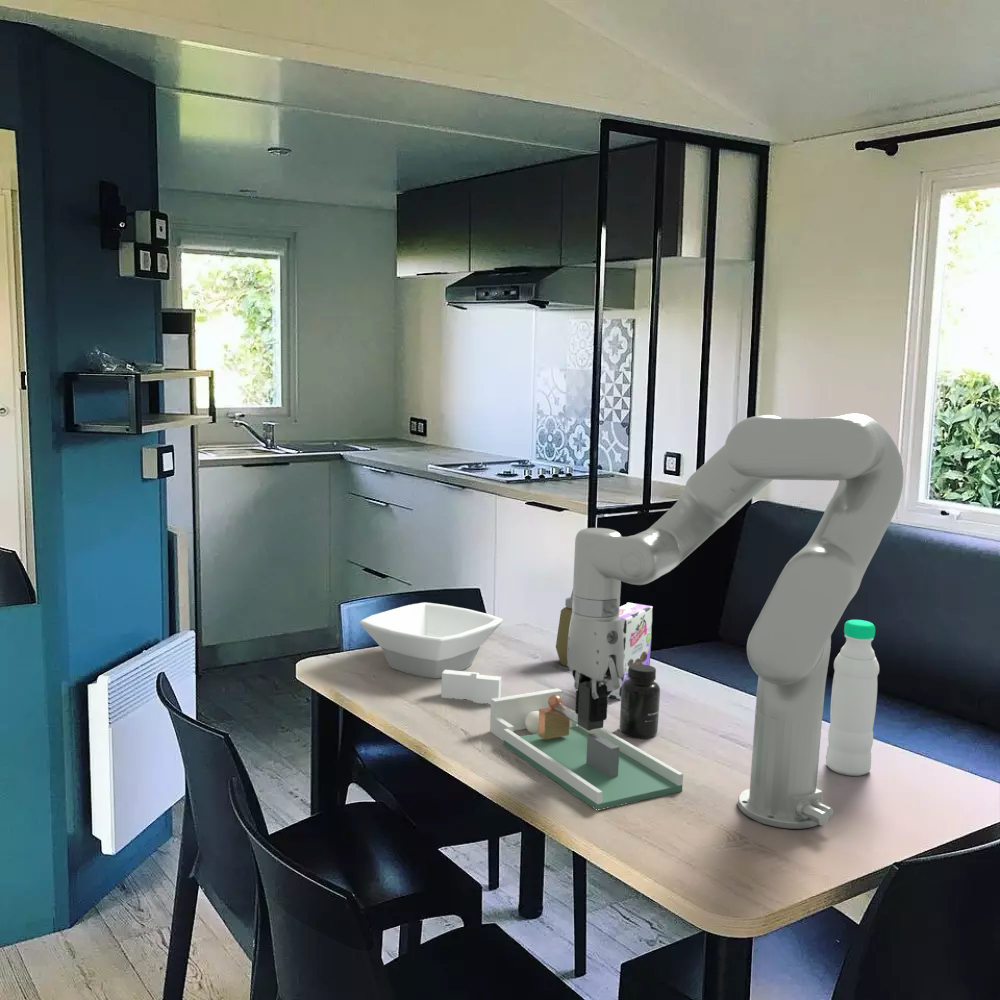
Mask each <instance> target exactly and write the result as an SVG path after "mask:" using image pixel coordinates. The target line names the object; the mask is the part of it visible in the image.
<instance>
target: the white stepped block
mask: <svg viewBox="0 0 1000 1000" xmlns="http://www.w3.org/2000/svg"><path fill="white" fill-rule="evenodd" d="M440 693H441V696H440V697H441V698H442V699H443V698H444V699H452V698H455V699H454V700H463V699H467V700H466V701H471V702H472V701H473V702H472V703H475V702H477V703H476V704H483V703H488V704H487V705H491V699H493V698H500V697H502V676H497V675H486V674H480V672H474V671H465V670H462V671H455V670H444V671H443V673H442V677H441V692H440Z"/></svg>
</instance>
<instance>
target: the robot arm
mask: <svg viewBox="0 0 1000 1000" xmlns="http://www.w3.org/2000/svg"><path fill="white" fill-rule="evenodd" d="M773 480H778V481H779V480H781V481H827V482H828V481H836V482H837V481H838V485H837V487H836V489H835V492H834V494H833V495H832V497H831V499H830V500H829V502H828V504H827V506H826V507H825V510H824V513H823V515H822V517H821V519H820V521H819V523H818V525H817V527H816V528H815V530H814V532H813V534H812V536H811V537H810V539H809V540H808V542H807V544H805V546H804V547H802V548H801V549H800V550H799V551H798V552H797V553H796V554H794V555H793V556H792V557H791V558H790V559H789V561H788V562H787V563H786V564H785V565H784V568H783V569H782V570H781V572H780V574H779V576H778V578H777V580H776V582H775V584H774V585H773V588H772V590H771V591H770V593H769V596H768V597H767V599H766V602H765V604H764V605H763V607H762V609H761V611H760V613H759V615H758V617H757V619H756V620H755V622H754V625H753V626H752V628H751V631H750V633H749V635H748V638H747V643H746V655H747V660H748V662H749V665H750V666H751V668H752V670H753V671H754V673H755V674H756V675H757V676H758V678H757V679H758V680H757V685H756V699H755V711H754V722H753V723H754V725H753V738H752V750H751V751H752V753H751V769H750V782H749V783H750V784H749V788H747V789H745V790H743V791H742V792H741V793H739V795H738V799H737V805H738V808H739V810H740V811H741V812H742V814H744V815H745V816H747V817H748V818H749V819H752V820H754V821H756V822H758V823H761V824H764V825H767V826H772V827H775V828H780V829H781V828H783V829H791V830H792V829H793V830H801V829H809V828H812V827H815V826H818V825H820V826H822V827H823V826H825V825H826V824H827V823H828V821H829V819H830V818H831V817H832V816H833V814H834V809H833V808H832V807H830V805H829V806H828V805H827V804H823V802H822V795H823V791H822V790H820V789H819V788H817V785H818V770H819V761H820V749H821V747H820V746H821V738H822V737H821V736H822V735H821V734H822V723H823V722H822V721H823V714H824V713H823V712H824V704H825V703H824V702H825V693H826V692H825V691H826V683H827V675H828V667H829V663H830V656H831V655H830V654H831V648H832V647H831V646H832V645H831V644H832V634H833V632H834V630H835V629H836V627H837V626H838V623H839V622H840V620H841V617H842V616H843V614H844V612H845V610H846V608H847V607H848V605H849V604H850V602H851V601H852V599H853V598H854V597H855V595H856V594H857V592H858V590H859V588H860V586H861V583H862V580H863V577H864V575H865V573H866V571H867V568H868V566H869V565H870V563H871V561H872V559H873V557H874V555H875V554H876V552H877V549H878V547H879V546H880V544H881V542H882V539H883V537H884V536H885V533H886V531H887V530H888V528H889V526H890V523H891V521H892V519H893V517H894V516H895V513H896V510H897V509H898V506H899V503H900V500H901V496H902V493H903V487H904V465H903V461H902V457H901V453H900V450H899V448H898V446H897V445H896V442H895V441H894V439H893V438H892V436H891V434H890V433H889V432H888V430H886V428H884V427H883V426H882V425H881V424H880V423H879V422H878V421H876V420H875V419H874V418H872V417H870V416H868V415H865V414H862V413H861V414H860V413H847V414H842V415H839V416H827V417H825V416H823V417H780V416H777V415H773V414H761V415H757V416H756V415H755V416H751V417H747V418H745V419H743V420H741V421H739V422H738V423H736V424H735V425H734V426H733V428H731V430H730V432H729V433H728V435H727V437H726V439H725V443H724V445H723V446H722V447H721V448H720V449H718V450H717V451H716V452H715V453H714V454H713V455H712V456H711V457H710V458H708V460H707V461H706V462H704V464H702V465H701V466H700V467H699V468H698V469H696V471H695V472H693V473H692V474H691V475H690V476H689V478H688V479H687V481H686V482H685V488H684V491H683V492H682V495H681V496H680V498H679V499H678V500H677V501H676V502H675V503H674V504H673V506H671V507H670V508H669V509H668V511H666V512H665V513H664V514H663V515H662V516H661V517H660V518H659V519H658V520H657V521H655V522H654V523H653V524H652V525H651V526H650V527H649V528H647V529H646V530H643V531H641V532H638V533H636V534H634V535H629V536H622V534H621V533H620V532H619V531H617V530H615V529H611V528H607V527H606V528H604V527H587V528H583V529H580V530H579V531H578V532H577V534H576V535H575V539H574V560H573V584H572V586H573V587H572V590H573V603H572V615H571V620H570V627H569V634H568V646H567V661H568V663H567V665H568V666H567V668H568V669H569V671H570V672H571V673H572V677H573V679H574V684H573V686H574V689H575V690H576V691H575V707H574V709H575V710H574V711H575V713H576V714H578V701H579V683H581V682H587V681H592V697H590V698H589V718H588V720H589V721H590V722H597V721H602V720H604V721H605V720H607V717H608V698H610V697H609V696H610V693H611V692H612V691H613V690H616V689H619V688H620V684H619V680H618V679H619V678H622V677H623V672H624V639H623V629H622V622H621V619H620V618H619V609H620V605H621V589H622V582H623V583H626V584H630V585H636V586H642V585H643V586H644V585H647V584H649V583H652V582H654V581H655V580H657V579H659V578H660V577H662V576H664V575H666V574H668V573H670V572H671V571H672V570H674V569H675V568H676V567H678V566H679V565H680V563H682V562H683V561H684V560H685V559H687V557H688V556H690V554H692V553H693V552H694V551H695V550H697V548H698V547H700V546H701V545H702V544H703V543H704V542H705V541H706V540H708V538H709V537H710V536H712V535H713V534H714V533H715V532H716V531H717V530H718V529H720V528H721V527H723V526H724V525H725V524H726V523H727V522H728V521H729V520H730V519H731V518H732V517H733V516H734V515H736V513H737V512H739V511H740V510H741V509H742V508H743V507H744V506H745V505H746V504H748V502H749V501H751V500H752V499H754V497H755V496H756V495H757V494H758V493H759V492H761V491H762V490H763V489H764V488H765V487H767V486H768V485H769V484H770V483H771V482H772V481H773ZM599 683H603V685H601V686H600V687H599Z"/></svg>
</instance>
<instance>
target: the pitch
mask: <svg viewBox="0 0 1000 1000" xmlns="http://www.w3.org/2000/svg"><path fill="white" fill-rule="evenodd" d="M552 695H558V696H559V697H560V698H561V699H562V700H563V690H561V689H560V688H557V687H556V688H550V689H545V690H539V691H538V690H537V691H533V692H526V693H520V694H514V695H513V694H512V695H507V696H501V697H500V698H493V699H491V704H490V713H489V715H490V717H489V718H490V719H489V720H490V721H489V722H490V723H489V724H490V725H489V732H490V733H492V734H493V735H494V736H496V737H497V738H499V739H500V740H501V741H503V743H502V744H503V745H502V746H504V747H505V748H507V749H508V750H509V751H511V752H513V753H514V754H515V755H517V756H518V757H520V758H521V759H522V760H524V761H525V762H527V763H529V764H530V765H531V766H533V768H535V769H536V770H538V771H540V772H541V773H542V774H544V775H545V776H547V777H548V778H550V779H551V780H552V781H554V782H555V783H557V784H559V785H560V786H561V787H562V788H564V789H566V790H567V791H569V792H570V793H571V794H572V795H574V796H575V795H576V796H575V797H577V798H578V797H579V798H578V799H580V800H581V799H582V800H581V801H583V802H584V801H585V802H586V803H585V802H584V803H585V804H587V803H588V804H589V805H588V804H587V805H588V806H590V805H591V806H592V807H591V806H590V807H591V808H593V807H594V808H595V809H597V810H598V809H602V810H604V809H603V808H607V807H611V808H613V807H612V806H615V807H618V806H617V805H620V806H622V805H621V804H624V805H626V804H625V803H628V804H632V803H631V802H633V803H636V802H635V801H637V802H641V801H644V799H645V800H649V798H650V799H654V798H658V797H662V796H663V797H664V796H666V795H671V794H675V793H680V792H682V791H683V785H684V784H683V781H684V773H683V772H681V771H679V770H678V769H676V768H674V767H672V766H670V765H668V764H667V763H665V762H663V761H662V760H660V759H658V758H656V757H654V756H652V755H651V754H649V753H648V752H646V751H644V750H642V749H640V748H639V747H637V746H636V745H634V744H632V743H630V742H628V741H626V740H625V739H623V738H621V737H620V736H617V735H616V734H615V733H612V732H611V731H609V730H607V729H606V728H604V727H603V728H598V729H592V730H590V731H589V730H586V729H585V728H583V727H581V726H580V725H578V724H577V723H575V722H573V721H571V720H570V721H569V735H567V736H561V737H556V738H551V739H545V740H544V739H542V738H541V737H539V736H538V733H536V734H533V733H531V734H527V735H526V734H525V735H521V736H519V735H518V734H517V733H515V732H516V731H520V730H525V729H527V728H526V726H525V719H526V717H527V715H528V714H529V713H531V712H533V711H539V709H541V708H547V707H550V706H549V705H548V699H549V697H550V696H552ZM514 731H515V732H514ZM657 796H658V797H657ZM640 800H641V801H640ZM594 808H593V809H594ZM595 809H594V810H595ZM607 809H608V808H607ZM597 810H596V811H597ZM598 811H599V810H598Z"/></svg>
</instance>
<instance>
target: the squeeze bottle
mask: <svg viewBox="0 0 1000 1000" xmlns="http://www.w3.org/2000/svg"><path fill="white" fill-rule="evenodd" d="M572 603H573V589H572V591H571V595H570V597H566V598H565V603H564V604H565V607H563V608H562V609H561V610H560V615H559V622H558V630H557V635H556V642H555V650H556V653H557V655H558V661H559V663H560V664H561V665H563V666H565V667H568V665H567V663H568V661H567V646H568V634H569V627H570V620H571V615H572Z"/></svg>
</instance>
